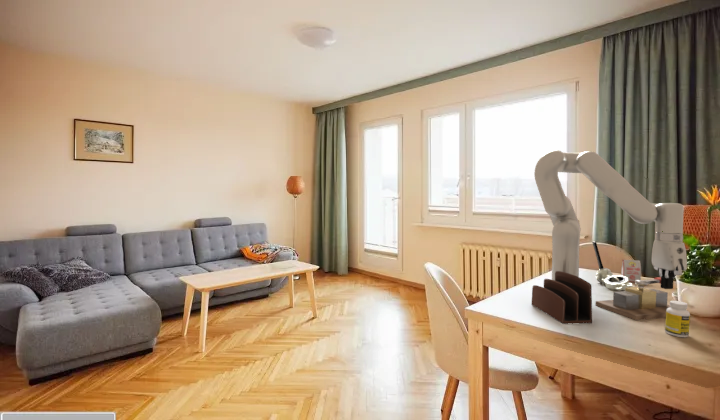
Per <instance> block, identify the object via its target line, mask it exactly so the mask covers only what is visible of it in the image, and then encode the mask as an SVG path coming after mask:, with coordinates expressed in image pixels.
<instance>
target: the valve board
mask: <svg viewBox="0 0 720 420" xmlns="http://www.w3.org/2000/svg"><path fill="white" fill-rule="evenodd" d="M595 306H597V307H599V308H603V309H605V310H607V311H611V312H613V313H616V314H619V315H621V316H623V317H627V318H629V319H631V318H632V320H635V321H642V320H654V319H661V318H666V310H667V308H669V307H671V306H670V304H667V306H664V307H656V308H651V309H631V310H625V309H622V308H619V307H616V306H613V299H607V300H596V301H595Z"/></svg>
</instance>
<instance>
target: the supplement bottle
mask: <svg viewBox="0 0 720 420" xmlns="http://www.w3.org/2000/svg"><path fill="white" fill-rule="evenodd" d="M669 305H670V306H671V307H669V308H667V310H666V317H665V325H664V326H665V327H664V328H665V329H664V330H665V333H666V334H668V335H670V336H673V337H678V338H688V337H689V335H690V325H691V324H690V323H691V314H690V311H689V310H687V309H688V306H689V305H688V303H687V302H684V301H681V300H670V301H669Z"/></svg>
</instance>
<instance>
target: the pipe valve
mask: <svg viewBox="0 0 720 420" xmlns="http://www.w3.org/2000/svg"><path fill="white" fill-rule="evenodd" d="M668 296H669V295H668V291H662V290H659V289H655V288H645V286H640V285H637V286H633V287H628V288H626V289H625V290H620V291H614V292H613V299H612V300H613V306H616V307H619V308H622V309H625V310H631V309H651V308H656V307H664V306H667V305H668Z"/></svg>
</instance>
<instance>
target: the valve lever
mask: <svg viewBox="0 0 720 420" xmlns="http://www.w3.org/2000/svg"><path fill="white" fill-rule="evenodd" d="M634 284H635V286H636V285H637V286H638V285H640V286H644V287H646V286H647V285H652V284H660V285H661V277H660V276H659V277H654V278H652V279H651V278H650V279H641V280H635V282H634Z"/></svg>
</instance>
